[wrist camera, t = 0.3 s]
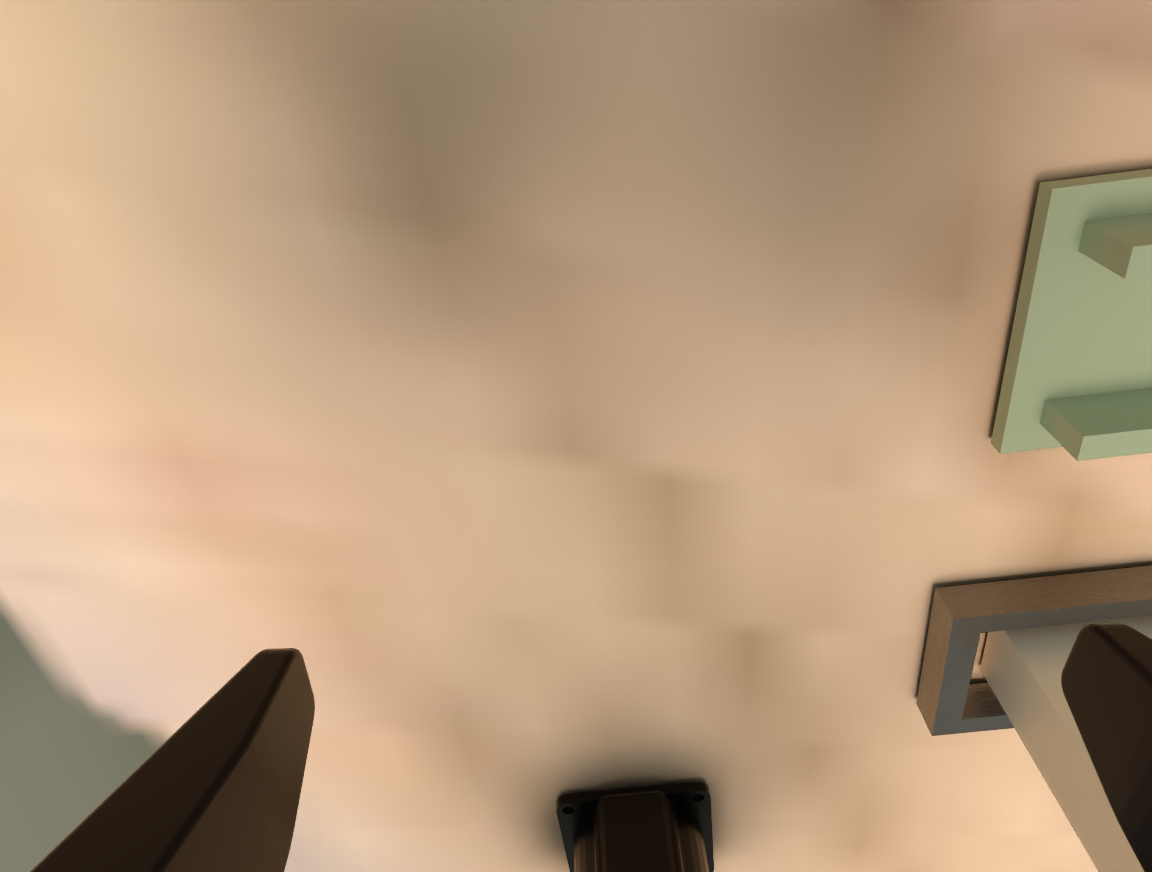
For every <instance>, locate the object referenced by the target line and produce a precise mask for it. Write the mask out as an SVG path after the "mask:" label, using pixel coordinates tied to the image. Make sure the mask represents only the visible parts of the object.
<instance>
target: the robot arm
mask: <svg viewBox="0 0 1152 872" xmlns="http://www.w3.org/2000/svg"><path fill="white" fill-rule="evenodd" d="M1061 685H1062V690H1063V693H1064V696H1065V699H1066V701H1067V704H1068V706H1069V708H1070V711H1071V713H1072V715H1073V718H1074V720H1075V723H1076V725H1077V727H1078V730H1079V732H1080V735H1081V737H1082V739H1083V742H1084V744H1085V746H1086V749H1087V751H1088V754H1089V756H1090V758H1091V761H1092V763H1093V766H1094V768H1095V770H1096V773H1097V775H1098V777H1099V780H1100V782H1101V785H1102V787H1103V789H1104V792H1105V794H1106V797H1107V799H1108V801H1109V803H1110V805H1111V808H1112V810H1113V812H1114V814H1115V816H1116V819H1117V821H1118V823H1119V825H1120V827H1121V829H1122V831H1123V833H1124V835H1125V837H1126V838H1127V840H1128V842H1129V844H1130V846H1131V848H1132V850H1133V852H1134V854H1135V855H1136V857H1137V859H1138V861H1139V863H1140V865H1141V867H1142V868H1143V870H1144V872H1152V639H1151V638H1149V637H1147V636H1146V635H1144V634H1142V633H1141V632H1139V631H1137V630H1135V629H1134V628H1132V627H1130V626H1128V625H1126V624H1122V623H1093V624H1087V625H1085V626H1084V627H1083V628H1082V629H1081V630H1080V631H1079V633H1078V635H1077V638H1076V640H1075V642H1074V645H1073V647H1072V649H1071V652H1070V654H1069V656H1068V658H1067V661H1066V663H1065V665H1064V668H1063V670H1062V675H1061ZM314 711H315V702H314V695H313V691H312V688H311V684H310V681H309V677H308V674H307V670H306V666H305V663H304V659H303V656H302V654H301V653H300V651H299V650H297V649H294V648H285V649H265V650H262V651H261V652H259V653H258V654H256V655H255V656H254V657H253V658H252V659H251V660H250V661H249V662H248V663H247V664H246V665H245V666H244V667H243V668H242V669H241V670H240V671H239V672H238V673H236V674H235V675H234V676H233V677H232V678H231V679H230V680H229V681H228V682H227V683H226V684H225V685H224V686H223V687H222V688H221V689H220V690H219V691H218V692H217V693H216V694H215V695H214V696H213V697H212V698H210V699H209V700H208V701H207V702H206V703H205V704H204V705H203V706H202V707H201V708H200V709H199V710H198V711H197V712H196V713H195V714H194V715H193V716H192V717H191V718H190V719H189V720H188V721H187V722H186V723H184V724H183V725H182V726H181V727H180V728H179V729H178V730H177V731H176V732H175V733H174V734H173V735H172V736H171V737H170V738H169V739H168V740H167V741H166V742H165V743H164V744H163V745H162V746H161V747H159V748H158V749H157V750H156V751H155V752H154V753H153V754H152V755H151V756H150V757H149V758H148V759H147V760H146V761H145V762H144V763H143V764H142V765H141V766H140V767H139V768H138V769H137V770H136V771H135V772H134V773H132V774H131V775H130V776H129V777H128V778H127V779H126V780H125V781H124V782H123V783H122V784H121V785H120V786H119V787H118V788H117V789H116V790H115V791H114V792H113V793H112V794H111V795H110V796H109V797H107V798H106V799H105V800H104V801H103V802H102V803H101V804H100V805H99V806H98V807H97V808H96V809H95V810H94V811H93V812H92V813H91V814H90V815H89V816H88V817H87V818H86V819H85V820H84V821H82V822H81V823H80V824H79V825H78V826H77V827H76V828H75V829H74V830H73V831H72V832H71V833H70V834H69V835H68V836H67V837H66V838H65V839H64V840H63V841H62V842H61V843H60V844H59V845H58V846H56V847H55V848H54V849H53V850H52V851H51V852H50V853H49V854H48V855H47V856H46V857H45V858H44V859H43V860H42V861H41V862H40V863H39V864H38V865H37V866H36V867H35V868H34V869H33V870H31V871H30V872H284V870H285V866H286V862H287V858H288V855H289V851H290V847H291V842H292V837H293V832H294V827H295V821H296V815H297V810H298V804H299V799H300V793H301V787H302V782H303V776H304V771H305V765H306V759H307V754H308V748H309V742H310V737H311V731H312V726H313V720H314ZM557 815H558V820H559V824H560V829H561V833H562V838H563V842H564V846H565V851H566V855H567V860H568V864H569V869H570V872H713V871H714V860H713V840H712V820H711V800H710V792H709V788H708V785H706V784H705V783H702V782H693V783H683V784H672V785H662V786H651V787H641V788H631V789H620V790H610V791H599V792H589V793H578V794H568V795H563V796H561V797H559V798H558V799H557Z"/></svg>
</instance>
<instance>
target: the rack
mask: <svg viewBox="0 0 1152 872" xmlns="http://www.w3.org/2000/svg"><path fill="white" fill-rule="evenodd" d="M1142 616H1152V565H1150V566H1141V567H1131V568H1122V569H1112V570H1103V571H1093V572H1084V573H1074V574H1065V575H1055V576H1046V577H1036V578H1026V579H1017V580H1007V581H998V582H988V583H979V584H969V585H960V586H950V587H941V588H935V592H934V598H933V604H932V610H931V617H930V623H929V629H928V635H927V641H926V647H925V653H924V660H923V666H922V672H921V678H920V684H919V690H918V696H917V706H918V708H919V710H920V712H921V714H922V716H923V718H924V720H925V722H926V724H927V727H928V729H929V731H930V733H931V735H932V736H936V735H946V734H956V733H967V732H977V731H987V730H998V729H1008V728H1014V726H1013V725H1012V723H1011V721H1010V719H1009V718H1008V716H1007V714H1006V713H1005V711H1004V709H1003V707H1002V706H1001V704H1000V702H999V701H998V699H997V697H996V696H995V694H994V692H993V690H992V689H991V687H990V685H989V684H988V683H979V684H969V683H970V679H971V674H972V669H973V665H974V660H975V655H976V651H977V646H978V641H979V636H980V633H985V632H995V631H1005V630H1015V629H1025V628H1034V627H1044V626H1054V625H1064V624H1073V623H1083V622H1093V621H1103V620H1113V619H1122V618H1132V617H1142Z"/></svg>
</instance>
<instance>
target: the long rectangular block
mask: <svg viewBox="0 0 1152 872" xmlns="http://www.w3.org/2000/svg"><path fill="white" fill-rule="evenodd" d="M1093 623H1122V624H1126V625H1128V626H1130V627H1132V628H1134V629H1135V630H1137V631H1139V632H1141V633H1142V634H1144V635H1146V636H1147V637H1149V638H1151V639H1152V616H1142V617H1132V618H1122V619H1113V620H1103V621H1093V622H1083V623H1073V624H1064V625H1054V626H1044V627H1034V628H1025V629H1015V630H1005V631H995V632H988V636H987V640H986V645H985V649H984V654H983V659H982V663H981V668H980V670H981V672H982V673H983V675H984V677H985V678H986V680H987V682H988V684H989V685H990V687H991V689H992V690H993V692H994V694H995V696H996V697H997V699H998V701H999V702H1000V704H1001V706H1002V707H1003V709H1004V711H1005V713H1006V714H1007V716H1008V718H1009V719H1010V721H1011V723H1012V725H1013V726H1014V728H1015V730H1016V731H1017V733H1018V735H1019V737H1020V738H1021V740H1022V742H1023V743H1024V745H1025V747H1026V749H1027V750H1028V752H1029V754H1030V755H1031V757H1032V759H1033V760H1034V762H1035V764H1036V766H1037V767H1038V769H1039V771H1040V772H1041V774H1042V776H1043V778H1044V779H1045V781H1046V783H1047V784H1048V786H1049V788H1050V790H1051V791H1052V793H1053V795H1054V796H1055V798H1056V800H1057V802H1058V803H1059V805H1060V807H1061V808H1062V810H1063V812H1064V813H1065V815H1066V817H1067V819H1068V820H1069V822H1070V824H1071V825H1072V827H1073V829H1074V831H1075V832H1076V834H1077V836H1078V837H1079V839H1080V841H1081V843H1082V844H1083V846H1084V848H1085V849H1086V851H1087V853H1088V854H1089V856H1090V858H1091V860H1092V861H1093V863H1094V865H1095V866H1096V868H1097V870H1098V872H1144V870H1143V868H1142V867H1141V865H1140V863H1139V861H1138V859H1137V857H1136V855H1135V854H1134V852H1133V850H1132V848H1131V846H1130V844H1129V842H1128V840H1127V838H1126V837H1125V835H1124V833H1123V831H1122V829H1121V827H1120V825H1119V823H1118V821H1117V819H1116V816H1115V814H1114V812H1113V810H1112V808H1111V805H1110V803H1109V801H1108V799H1107V797H1106V794H1105V792H1104V789H1103V787H1102V785H1101V782H1100V780H1099V777H1098V775H1097V773H1096V770H1095V768H1094V766H1093V763H1092V761H1091V758H1090V756H1089V754H1088V751H1087V749H1086V746H1085V744H1084V742H1083V739H1082V737H1081V735H1080V732H1079V730H1078V727H1077V725H1076V723H1075V720H1074V718H1073V715H1072V713H1071V711H1070V708H1069V706H1068V704H1067V701H1066V699H1065V696H1064V693H1063V690H1062V685H1061V675H1062V670H1063V668H1064V665H1065V663H1066V661H1067V658H1068V656H1069V654H1070V652H1071V649H1072V647H1073V645H1074V642H1075V640H1076V638H1077V635H1078V633H1079V631H1080V630H1081V629H1082V628H1083V627H1084V626H1085V625H1087V624H1093Z"/></svg>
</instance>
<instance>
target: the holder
mask: <svg viewBox="0 0 1152 872" xmlns="http://www.w3.org/2000/svg"><path fill="white" fill-rule="evenodd" d="M991 444H992V445H993V446H994V447H995V448H996V449H997V451H998V452H999V453H1000V454H1001V453H1010V452H1019V451H1028V450H1037V449H1046V448H1055V447H1064V448H1065V449H1066V450H1067V451H1068V452H1069V453H1070V454H1071V455H1072V456H1073V457H1074V458H1075V459H1076V460H1077V461H1081V460H1090V459H1099V458H1108V457H1117V456H1126V455H1135V454H1144V453H1152V169H1144V170H1136V171H1128V172H1120V173H1112V174H1105V175H1097V176H1089V177H1081V178H1073V179H1065V180H1057V181H1049V182H1041V183H1040V185H1039V190H1038V196H1037V201H1036V206H1035V212H1034V217H1033V222H1032V228H1031V233H1030V238H1029V244H1028V249H1027V254H1026V259H1025V265H1024V270H1023V275H1022V281H1021V286H1020V291H1019V297H1018V302H1017V307H1016V312H1015V318H1014V323H1013V328H1012V334H1011V339H1010V344H1009V350H1008V355H1007V360H1006V365H1005V371H1004V376H1003V381H1002V387H1001V392H1000V397H999V403H998V408H997V413H996V418H995V424H994V429H993V434H992V440H991Z"/></svg>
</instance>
